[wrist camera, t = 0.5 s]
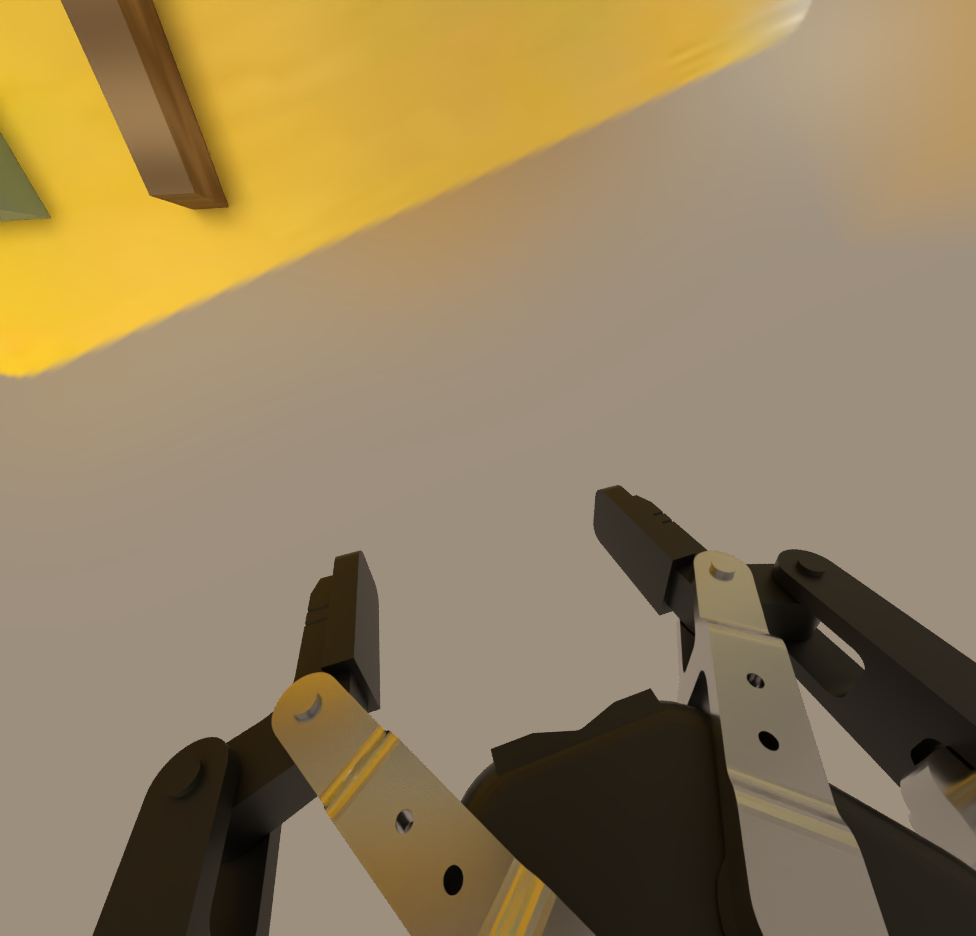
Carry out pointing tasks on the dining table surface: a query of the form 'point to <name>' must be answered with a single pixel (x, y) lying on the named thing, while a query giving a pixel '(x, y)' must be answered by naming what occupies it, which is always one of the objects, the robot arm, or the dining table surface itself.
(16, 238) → the dining table surface
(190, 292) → the dining table surface
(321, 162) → the dining table surface
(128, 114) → the walnut board
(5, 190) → the teal block
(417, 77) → the dining table surface
